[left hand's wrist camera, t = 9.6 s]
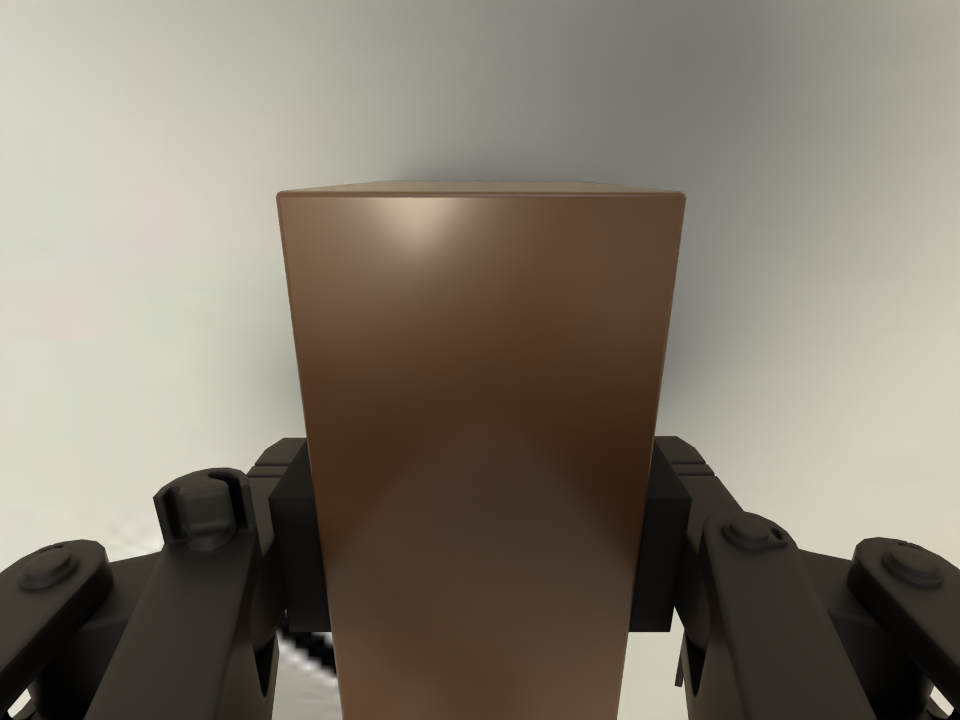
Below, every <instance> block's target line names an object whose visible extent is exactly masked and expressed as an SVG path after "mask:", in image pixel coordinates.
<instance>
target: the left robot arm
mask: <svg viewBox="0 0 960 720" xmlns="http://www.w3.org/2000/svg"><path fill="white" fill-rule="evenodd" d="M153 500H154V504H155V508H156V512H157V516H158V519H159V523H160V527H161V531H162V535H163V539H164V543H165V544H164V546H163V548H162V550H161V551H160V552H156V553H153V554H149V555H144V556H139V557H134V558H129V559H125V560H120V561H115V562H110V563H109V560H108V557H107V554H106V551H105V548H104V547H103V546H102V545H101V544H99V543H98V542H97V541H90V540H83V539H82V540H74V541H66V542H60V543H56V544H54V545H49V546H46V547H43V548H41V549H39V550H37V551H36V552H33V553H31V554H29V555H27V556H25V557H23V558H21V559H19V560H18V561H17V562H15V563H14V564H12V565H11V566H9V567H8V568H6V569H5V570H4V571H2V572H1V573H0V720H271V719H272V710H273V702H274V693H275V685H276V676H277V668H278V659H279V647H278V640H277V634H276V629H277V627H278V625H279V623H280V620H281V618H282V616H283V614H284V611H285V609H286V610H287V616H288V622H289V628H290V632H332V631H331V623H330V615H329V607H328V600H327V592H326V584H325V576H324V568H323V561H322V553H321V545H320V537H319V529H318V522H317V514H316V506H315V498H314V490H313V482H312V475H311V467H310V459H309V451H308V443H307V438H283V439H281V440H280V441H278V442H277V443H275V444H274V445H272V446H270V447H269V448H267V449H266V450H265V451H264V452H263V454H262V455H261V456H260V457H259V459H258V460H257V461H256V463H255V466H253V467H252V468H251V469H250V471H249V472H248V473H247V474H245V473H243V472H242V471H241V470H237V469H232V468H210V469H205V470H200V471H195V472H192V473H189V474H187V475H184V476H182V477H179V478H177V479H175V480H173V481H172V482H170V483H168V484H167V485H165V486H164V487H162V488H161V489H160V490H159V491H158V493H157V494H156V495H155V496H154V497H153ZM674 606H675V608H676V611H677V613H678V615H679V617H680V620H681V622H682V624H683V626H684V634H683V640H682V645H681V651H680V656H679V662H678V668H677V673H676V680H675V686H678V687H682V683H683V678H684V684H685V692H686V701H687V709H688V718H689V720H960V570H959V569H958V568H957V567H955V566H954V565H952V564H951V563H950V562H948V561H947V560H945V559H944V558H942V557H941V556H939V555H937V554H935V553H933V552H931V551H928V550H926V549H924V548H923V547H921V546H919V545H916V544H913V543H907V542H906V541H902V540H898V539H890V538H882V537H876V538H868V539H864V540H862V541H861V542H860V543H859V544H857V545H856V548H855V551H854V555H853V558H852V561H851V560H847V559H842V558H837V557H832V556H827V555H823V554H818V553H813V552H809V551H805V550H801V549H798V547H797V545H796V543H795V541H794V540H793V539H792V538H791V536H790V535H789V534H788V532H787V531H785V530H784V529H783V528H781V527H780V526H779V525H777V524H776V523H774V522H773V521H771V520H768V519H766V518H764V517H762V516H759V515H757V514H753V513H749V512H745V511H743V509H742V508H741V507H740V506H739V504H738V503H737V502H736V500H735V499H734V498H733V497H732V495H731V494H730V493H729V491H728V490H727V489H726V487H725V486H724V485H723V484H722V482H721V481H720V480H719V478H718V477H717V476H715V475H714V472H713V471H712V469H711V468H710V467H709V465H706V462H705V460H704V459H703V458H702V456H701V455H700V454H699V453H698V451H697V450H696V449H695V448H694V447H693V446H691V445H689V444H688V443H686V442H685V441H683V440H682V439H680V438H678V437H677V436H654V443H653V451H652V458H651V466H650V473H649V481H648V488H647V496H646V503H645V511H644V518H643V526H642V534H641V541H640V549H639V556H638V564H637V571H636V579H635V586H634V594H633V601H632V609H631V616H630V624H629V631H628V632H670V629H671V623H672V617H673V611H674ZM934 685H935V687H936V688H937V689H938V690H939V691H940V692H941V694H942V695H943V696H944V697H945V698H946V699H947V700H948V702H949V703H950V704H951V705H952V706H953V707H954V710H953V712H952V714H951V715H950V716H948V715H947V714H946V713H945V712H944V711H943V710H942V709H941V708H939V706H938V705H937V704H936V703H935V702H934V700H933V699H932V698H931V697H930V695H931V692H932V690H933V688H934ZM26 688H27V689H28V692H29V694H30V696H31V699H30V700H29V701H28V703H27V704H26V705H25V706H24V707H23V709H22V710H21V711H19V712H18V713H17V714H16V715H15V716H14V717H13V718H12V717H10V716H9V713H8V709H9V708H10V707H11V706H12V705H13V704H14V702H15V701H16V700H17V699H18V698H19V697H20V695H21V694H22V693H23V692H24V691H25V690H26Z"/></svg>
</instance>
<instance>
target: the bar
mask: <svg viewBox="0 0 960 720" xmlns="http://www.w3.org/2000/svg"><path fill="white" fill-rule="evenodd" d="M276 201H277V209H278V217H279V225H280V233H281V240H282V248H283V256H284V264H285V272H286V279H287V287H288V295H289V303H290V311H291V319H292V326H293V334H294V342H295V350H296V358H297V365H298V373H299V381H300V389H301V397H302V404H303V412H304V420H305V428H306V436H307V443H308V451H309V459H310V467H311V475H312V482H313V490H314V498H315V506H316V514H317V522H318V529H319V537H320V545H321V553H322V561H323V568H324V576H325V584H326V592H327V600H328V607H329V615H330V623H331V631H332V639H333V646H334V654H335V662H336V670H337V678H338V685H339V693H340V701H341V709H342V717H343V720H617V714H618V707H619V699H620V692H621V684H622V677H623V669H624V662H625V654H626V647H627V639H628V631H629V624H630V616H631V609H632V601H633V594H634V586H635V579H636V571H637V564H638V556H639V549H640V541H641V534H642V526H643V518H644V511H645V503H646V496H647V488H648V481H649V473H650V466H651V458H652V451H653V443H654V436H655V428H656V421H657V413H658V405H659V398H660V390H661V383H662V375H663V368H664V360H665V353H666V345H667V338H668V330H669V323H670V315H671V308H672V300H673V292H674V285H675V277H676V270H677V262H678V255H679V247H680V240H681V232H682V225H683V217H684V210H685V202H686V196H685V194H684V193H682V192H678V191H668V190H658V189H648V188H639V187H629V186H619V185H610V184H600V183H590V182H580V181H377V182H367V183H357V184H347V185H337V186H327V187H317V188H307V189H297V190H287V191H281V192H278V193H277V196H276Z"/></svg>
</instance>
